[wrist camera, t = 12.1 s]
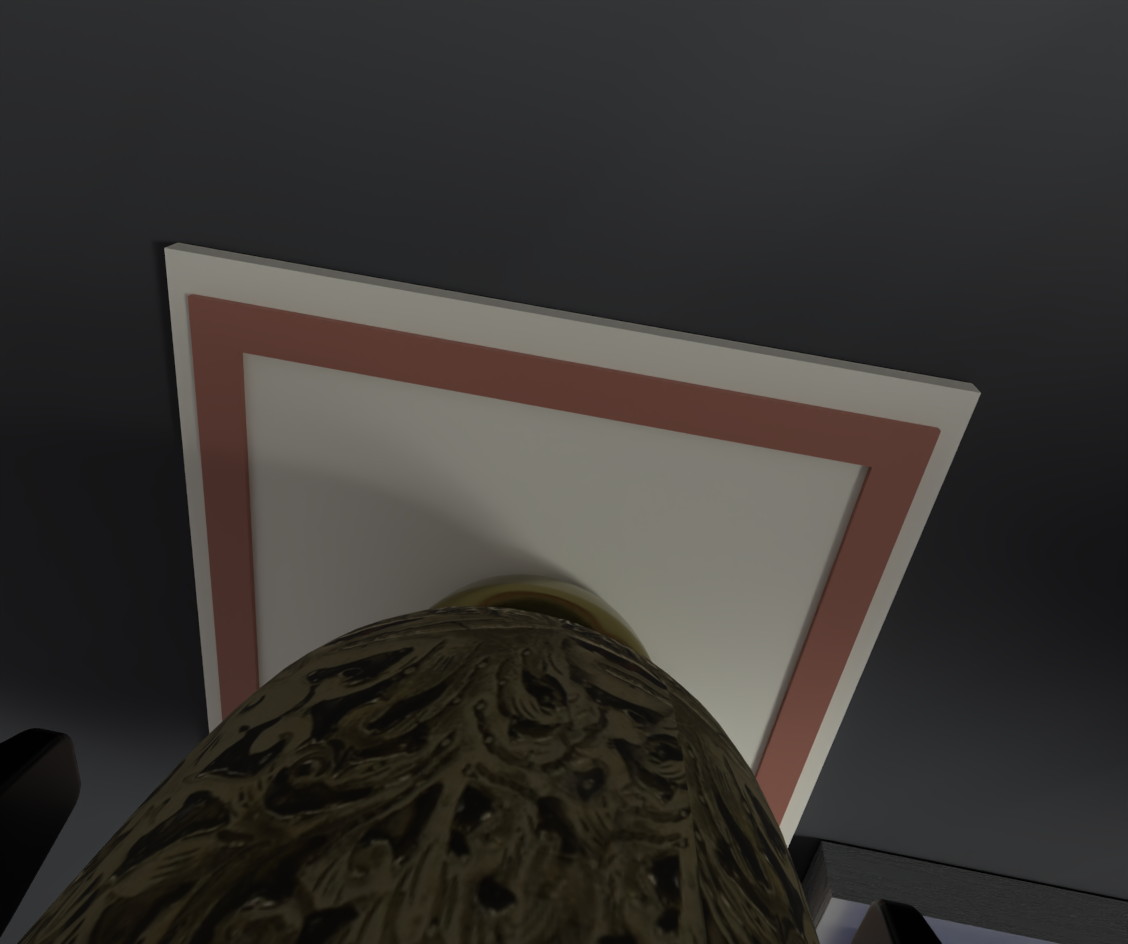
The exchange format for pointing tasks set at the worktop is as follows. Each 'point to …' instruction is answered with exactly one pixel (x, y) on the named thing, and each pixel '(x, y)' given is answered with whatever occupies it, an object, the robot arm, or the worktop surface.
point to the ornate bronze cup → (453, 799)
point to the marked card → (547, 485)
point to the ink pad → (953, 902)
